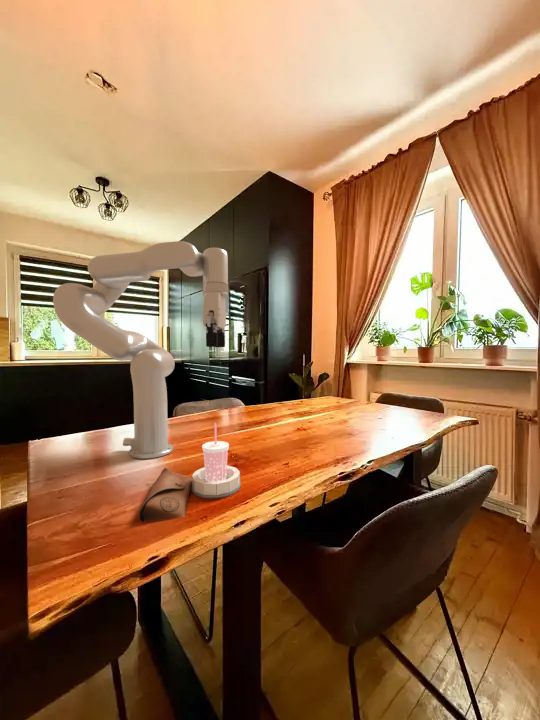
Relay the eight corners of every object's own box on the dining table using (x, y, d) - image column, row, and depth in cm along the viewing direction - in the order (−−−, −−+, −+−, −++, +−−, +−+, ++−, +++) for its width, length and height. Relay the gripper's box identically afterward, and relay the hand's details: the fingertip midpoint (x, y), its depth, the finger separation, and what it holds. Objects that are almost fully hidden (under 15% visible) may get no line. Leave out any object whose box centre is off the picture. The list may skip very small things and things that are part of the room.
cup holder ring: (184, 497, 63) (184, 483, 63) (200, 476, 74) (200, 464, 74) (235, 499, 63) (235, 485, 63) (244, 477, 74) (244, 465, 73)
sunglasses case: (187, 517, 56) (167, 488, 55) (153, 540, 55) (133, 510, 54) (196, 478, 73) (181, 455, 73) (170, 494, 72) (155, 471, 72)
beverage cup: (219, 475, 73) (219, 418, 73) (234, 484, 68) (234, 423, 68) (197, 483, 69) (196, 423, 68) (211, 492, 64) (211, 428, 64)
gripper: (211, 296, 100) (211, 347, 101) (194, 284, 83) (194, 346, 84) (233, 295, 100) (233, 347, 100) (220, 284, 83) (221, 346, 83)
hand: (216, 347), depth 92 cm, fingers open, 9 cm apart
